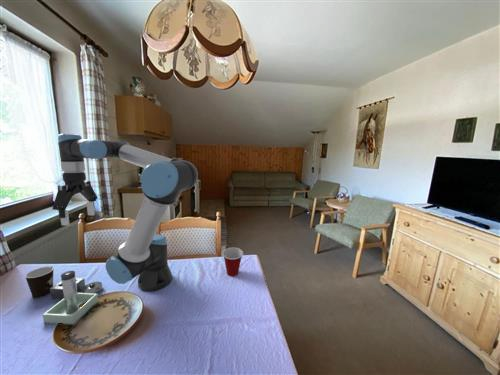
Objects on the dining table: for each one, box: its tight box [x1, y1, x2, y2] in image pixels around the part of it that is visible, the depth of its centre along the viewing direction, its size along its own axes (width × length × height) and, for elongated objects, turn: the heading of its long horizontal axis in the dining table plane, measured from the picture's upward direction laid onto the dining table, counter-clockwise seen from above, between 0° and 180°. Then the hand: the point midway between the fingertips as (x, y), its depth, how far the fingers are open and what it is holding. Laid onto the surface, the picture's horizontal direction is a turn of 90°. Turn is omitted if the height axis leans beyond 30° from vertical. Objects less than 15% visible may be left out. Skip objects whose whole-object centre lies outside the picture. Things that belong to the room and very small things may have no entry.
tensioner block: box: [50, 277, 86, 301], centre depth 91 cm, size 8×8×5 cm
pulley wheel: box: [81, 281, 103, 295], centre depth 93 cm, size 7×7×3 cm
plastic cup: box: [222, 247, 244, 277], centre depth 109 cm, size 11×11×12 cm
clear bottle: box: [60, 270, 79, 314], centre depth 80 cm, size 4×4×16 cm
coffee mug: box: [24, 265, 54, 299], centre depth 92 cm, size 12×9×10 cm
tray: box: [42, 292, 99, 326], centre depth 81 cm, size 11×12×4 cm
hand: (79, 219), depth 92 cm, fingers open, 13 cm apart
